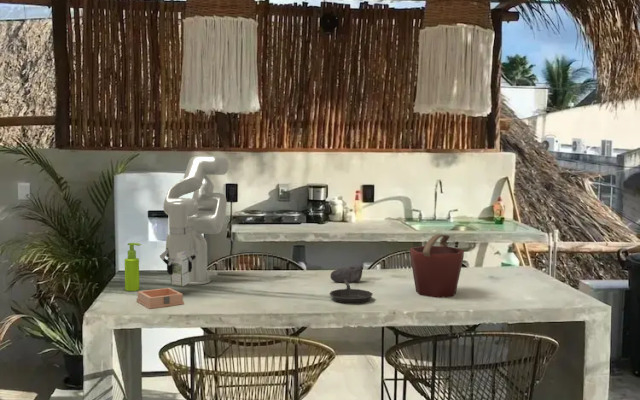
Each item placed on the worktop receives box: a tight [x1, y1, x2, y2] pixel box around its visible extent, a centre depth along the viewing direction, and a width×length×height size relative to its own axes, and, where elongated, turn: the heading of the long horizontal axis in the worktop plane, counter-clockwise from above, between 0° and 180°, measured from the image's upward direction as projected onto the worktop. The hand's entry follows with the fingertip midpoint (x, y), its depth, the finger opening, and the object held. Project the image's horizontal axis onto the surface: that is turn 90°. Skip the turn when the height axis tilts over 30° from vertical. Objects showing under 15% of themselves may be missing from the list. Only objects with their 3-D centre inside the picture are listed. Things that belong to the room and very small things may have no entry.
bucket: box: [409, 233, 465, 298], centre depth 292 cm, size 24×22×25 cm
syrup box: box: [170, 251, 189, 287], centre depth 286 cm, size 6×6×14 cm
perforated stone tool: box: [330, 266, 363, 284], centre depth 313 cm, size 15×5×7 cm, turn 95°
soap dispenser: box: [124, 242, 142, 292], centre depth 293 cm, size 6×7×20 cm
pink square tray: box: [136, 287, 185, 309], centre depth 271 cm, size 14×14×4 cm
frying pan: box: [329, 279, 374, 305], centre depth 287 cm, size 18×32×4 cm, turn 4°
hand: (179, 272), depth 286 cm, fingers closed on syrup box, 7 cm apart
